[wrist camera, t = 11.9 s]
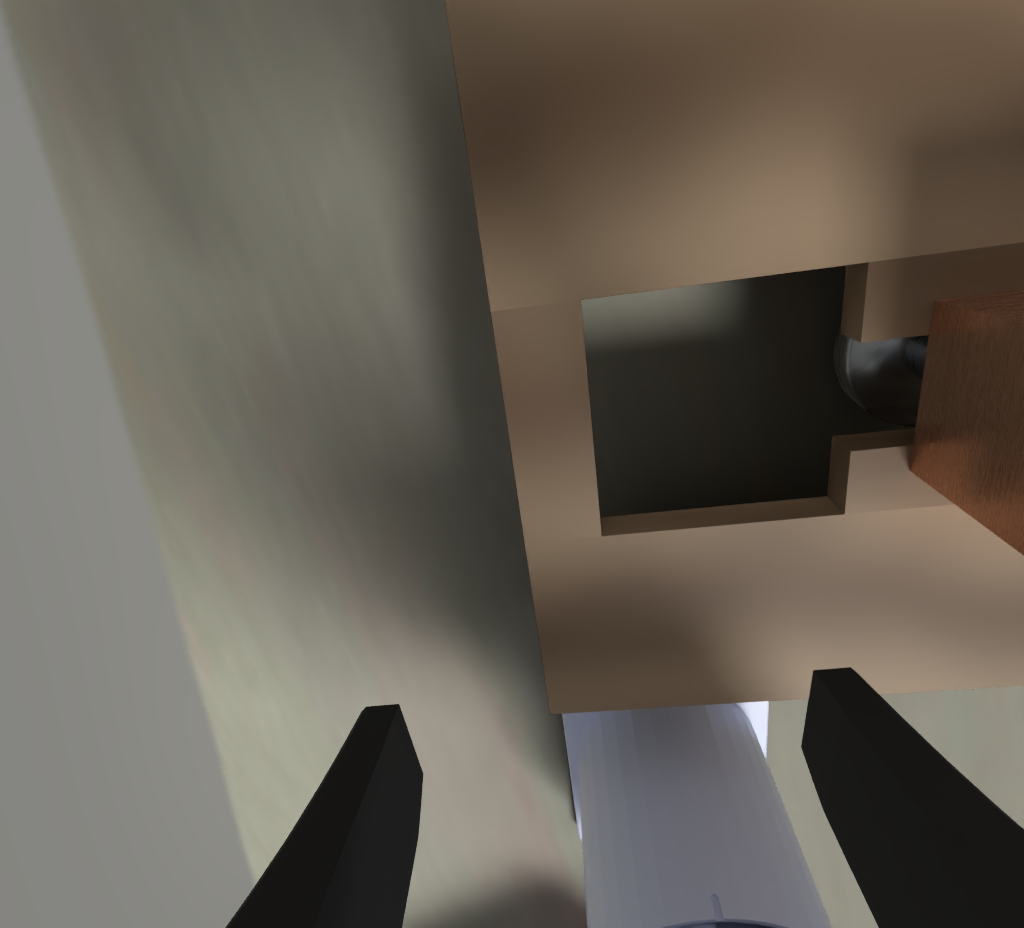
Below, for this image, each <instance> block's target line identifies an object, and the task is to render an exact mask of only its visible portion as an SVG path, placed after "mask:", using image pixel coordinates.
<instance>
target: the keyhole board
mask: <svg viewBox="0 0 1024 928" xmlns="http://www.w3.org/2000/svg"><path fill="white" fill-rule="evenodd" d="M445 5H446V12H447V19H448V26H449V32H450V39H451V46H452V53H453V59H454V66H455V73H456V80H457V87H458V93H459V100H460V107H461V114H462V121H463V127H464V134H465V141H466V148H467V154H468V161H469V168H470V175H471V182H472V188H473V195H474V202H475V209H476V216H477V222H478V229H479V236H480V243H481V250H482V256H483V263H484V270H485V277H486V283H487V290H488V297H489V304H490V311H491V317H492V324H493V331H494V338H495V345H496V351H497V358H498V365H499V372H500V379H501V385H502V392H503V399H504V406H505V412H506V419H507V426H508V433H509V440H510V446H511V453H512V460H513V467H514V474H515V480H516V487H517V494H518V501H519V508H520V514H521V521H522V528H523V535H524V541H525V548H526V555H527V562H528V569H529V575H530V582H531V589H532V596H533V603H534V609H535V616H536V623H537V630H538V637H539V643H540V650H541V657H542V664H543V670H544V677H545V684H546V691H547V698H548V704H549V711H550V714H565V713H582V712H598V711H614V710H631V709H647V708H663V707H680V706H696V705H712V704H729V703H745V702H761V701H778V700H794V699H809V694H810V688H811V681H812V675H813V670H822V669H834V668H846V667H851V668H852V669H854V670H855V671H856V672H857V673H858V674H859V675H860V676H861V677H862V678H863V679H864V680H865V681H866V682H867V683H868V684H869V685H870V686H871V687H872V688H873V689H874V690H875V691H876V692H877V693H878V694H892V693H909V692H925V691H941V690H958V689H974V688H991V687H1007V686H1023V685H1024V556H1023V555H1022V554H1021V553H1019V552H1018V551H1017V550H1015V549H1014V548H1013V547H1011V546H1010V545H1009V544H1007V543H1006V542H1005V541H1003V540H1002V539H1001V538H999V537H998V536H997V535H995V534H994V533H993V532H991V531H990V530H989V529H987V528H986V527H984V526H983V525H982V524H980V523H979V522H978V521H976V520H975V519H974V518H972V517H971V516H970V515H968V514H967V513H966V512H964V511H963V510H962V509H960V508H959V507H958V506H956V505H955V504H954V503H952V502H951V501H949V500H948V499H947V498H945V497H944V496H943V495H941V494H940V493H939V492H937V491H936V490H935V489H933V488H932V487H931V486H929V485H928V484H927V483H925V482H924V481H923V480H921V479H920V478H919V477H917V476H916V475H915V474H913V473H912V472H910V464H911V457H912V450H913V443H914V436H915V429H916V428H908V429H898V430H888V431H879V432H869V433H859V434H850V435H840V436H832V446H831V458H830V470H829V483H828V495H827V496H824V497H814V498H803V499H792V500H782V501H771V502H760V503H750V504H739V505H728V506H717V507H707V508H696V509H685V510H675V511H664V512H653V513H643V514H632V515H621V516H611V517H600V512H599V501H598V489H597V478H596V467H595V455H594V444H593V433H592V421H591V410H590V399H589V387H588V376H587V364H586V353H585V342H584V330H583V319H582V308H581V300H584V299H591V298H599V297H607V296H614V295H622V294H630V293H637V292H645V291H653V290H660V289H668V288H676V287H683V286H691V285H699V284H706V283H714V282H722V281H729V280H737V279H745V278H752V277H760V276H768V275H775V274H783V273H791V272H798V271H806V270H814V269H821V268H829V267H837V266H844V265H846V273H845V286H844V298H843V310H842V322H841V334H843V335H845V336H847V337H849V338H851V339H854V340H856V341H858V342H860V343H864V342H873V341H881V340H890V339H898V338H907V337H915V336H924V335H929V330H930V323H931V316H932V309H933V302H934V300H942V299H950V298H958V297H966V296H975V295H983V294H991V293H999V292H1008V291H1016V290H1024V0H445Z"/></svg>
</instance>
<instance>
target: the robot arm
mask: <svg viewBox="0 0 1024 928" xmlns="http://www.w3.org/2000/svg"><path fill="white" fill-rule="evenodd" d="M768 712H769V701H761V702H745V703H729V704H712V705H696V706H680V707H663V708H647V709H631V710H614V711H598V712H582V713H565V714H562V717H563V725H564V732H565V739H566V747H567V754H568V761H569V769H570V776H571V783H572V791H573V798H574V805H575V813H576V820H577V827H578V835H579V838H580V840H582V845H583V863H584V880H585V898H586V915H587V928H832V926H831V923H830V921H829V918H828V916H827V913H826V911H825V908H824V906H823V903H822V900H821V898H820V895H819V893H818V890H817V888H816V885H815V883H814V880H813V878H812V875H811V873H810V870H809V867H808V865H807V862H806V860H805V857H804V855H803V852H802V850H801V847H800V845H799V842H798V840H797V837H796V834H795V832H794V829H793V827H792V824H791V822H790V819H789V817H788V814H787V812H786V809H785V807H784V804H783V802H782V799H781V796H780V794H779V791H778V789H777V786H776V784H775V781H774V779H773V776H772V774H771V771H770V769H769V766H768V763H767V761H766V757H767V734H768ZM801 747H802V750H803V753H804V756H805V759H806V762H807V765H808V768H809V771H810V774H811V777H812V780H813V783H814V785H815V788H816V791H817V794H818V796H819V799H820V802H821V805H822V807H823V810H824V812H825V815H826V817H827V819H828V821H829V823H830V825H831V828H832V830H833V832H834V834H835V836H836V838H837V840H838V842H839V845H840V847H841V849H842V851H843V853H844V855H845V857H846V860H847V862H848V864H849V866H850V868H851V870H852V872H853V874H854V876H855V879H856V881H857V883H858V885H859V887H860V889H861V891H862V893H863V895H864V897H865V900H866V902H867V904H868V906H869V908H870V910H871V912H872V914H873V916H874V918H875V921H876V923H877V925H878V927H879V928H1024V829H1023V828H1022V827H1020V826H1019V825H1018V824H1017V823H1016V822H1015V821H1013V820H1012V819H1011V818H1010V817H1009V816H1008V815H1007V814H1006V813H1004V812H1003V811H1002V810H1001V809H1000V808H999V807H998V806H996V805H995V804H994V803H993V802H992V801H991V800H990V799H989V798H988V797H986V796H985V795H984V794H983V793H982V792H981V791H980V790H979V789H978V788H977V787H976V786H974V785H973V784H972V783H971V782H970V781H969V780H968V779H967V778H966V777H965V776H964V775H962V774H961V773H960V772H959V771H958V770H957V769H956V768H955V767H954V766H953V765H952V764H950V763H949V762H948V761H947V760H946V759H945V758H944V757H943V756H942V755H941V754H940V753H939V752H938V751H937V750H936V749H934V748H933V747H932V746H931V745H930V744H929V743H928V742H927V741H926V740H925V739H924V738H923V737H922V736H921V735H920V734H919V733H918V732H917V731H916V730H915V729H914V728H913V727H912V726H911V725H910V724H909V723H908V722H906V721H905V720H904V719H903V718H902V717H901V716H900V715H899V714H898V713H897V712H896V711H895V710H894V709H893V708H892V707H891V706H890V705H889V704H888V703H887V702H886V701H885V700H884V699H883V698H882V697H881V696H880V695H879V694H878V693H877V692H876V691H875V690H874V689H873V688H872V687H871V686H870V685H869V684H868V683H867V682H866V681H865V680H864V679H863V678H862V677H861V676H860V675H859V674H858V673H857V672H856V671H855V670H854V669H852V668H851V667H846V668H834V669H822V670H813V675H812V681H811V688H810V694H809V701H808V707H807V713H806V720H805V726H804V733H803V739H802V745H801ZM422 783H423V772H422V769H421V766H420V763H419V760H418V758H417V755H416V752H415V749H414V746H413V743H412V740H411V737H410V734H409V732H408V729H407V726H406V723H405V720H404V717H403V714H402V711H401V708H400V706H399V704H394V705H382V706H370V707H366V708H365V709H364V710H363V711H362V712H361V714H360V716H359V717H358V719H357V721H356V723H355V725H354V726H353V728H352V730H351V732H350V734H349V735H348V737H347V739H346V741H345V743H344V744H343V746H342V748H341V750H340V751H339V753H338V755H337V757H336V758H335V760H334V762H333V764H332V765H331V767H330V769H329V771H328V772H327V774H326V776H325V777H324V779H323V781H322V782H321V784H320V786H319V788H318V789H317V791H316V792H315V794H314V796H313V797H312V799H311V801H310V802H309V804H308V805H307V807H306V809H305V810H304V812H303V813H302V815H301V817H300V818H299V820H298V822H297V823H296V825H295V826H294V828H293V830H292V831H291V833H290V834H289V836H288V837H287V839H286V841H285V842H284V844H283V845H282V847H281V848H280V850H279V851H278V853H277V854H276V856H275V857H274V859H273V860H272V862H271V863H270V864H269V866H268V867H267V869H266V870H265V872H264V873H263V875H262V876H261V878H260V879H259V881H258V882H257V884H256V885H255V887H254V888H253V890H252V891H251V893H250V894H249V896H248V897H247V898H246V900H245V901H244V903H243V904H242V905H241V907H240V908H239V910H238V911H237V912H236V914H235V915H234V917H233V918H232V919H231V921H230V922H229V924H228V925H227V926H226V928H402V924H403V918H404V913H405V908H406V902H407V897H408V891H409V886H410V880H411V875H412V869H413V864H414V858H415V852H416V847H417V841H418V834H419V822H420V811H421V798H422Z"/></svg>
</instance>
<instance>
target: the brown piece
mask: <svg viewBox="0 0 1024 928" xmlns="http://www.w3.org/2000/svg"><path fill="white" fill-rule="evenodd" d="M834 367H835V372H836V375H837V379H838V381H839V383H840V385H841V387H842V388H843V390H844V391H845V393H846V394H847V395H848V396H849V397H850V398H851V399H852V400H853V401H854V402H856V403H857V404H858V405H860V406H861V407H863V408H864V409H866V410H867V411H869V412H870V413H872V414H874V415H875V416H877V417H879V418H880V419H882V420H884V421H887V422H890V423H892V424H896V425H901V426H910V427H916V429H915V436H914V443H913V450H912V457H911V464H910V472H912V473H913V474H915V475H916V476H917V477H919V478H920V479H921V480H923V481H924V482H925V483H927V484H928V485H929V486H931V487H932V488H933V489H935V490H936V491H937V492H939V493H940V494H941V495H943V496H944V497H945V498H947V499H948V500H949V501H951V502H952V503H954V504H955V505H956V506H958V507H959V508H960V509H962V510H963V511H964V512H966V513H967V514H968V515H970V516H971V517H972V518H974V519H975V520H976V521H978V522H979V523H980V524H982V525H983V526H984V527H986V528H987V529H989V530H990V531H991V532H993V533H994V534H995V535H997V536H998V537H999V538H1001V539H1002V540H1003V541H1005V542H1006V543H1007V544H1009V545H1010V546H1011V547H1013V548H1014V549H1015V550H1017V551H1018V552H1019V553H1021V554H1022V555H1023V556H1024V290H1016V291H1008V292H999V293H991V294H983V295H975V296H966V297H958V298H950V299H942V300H934V302H933V309H932V316H931V323H930V330H929V335H924V336H915V337H907V338H898V339H890V340H881V341H873V342H864V343H860V342H858V341H856V340H854V339H851V338H849V337H847V336H845V335H843V334H841V325H840V328H839V330H838V333H837V337H836V340H835V346H834Z"/></svg>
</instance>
